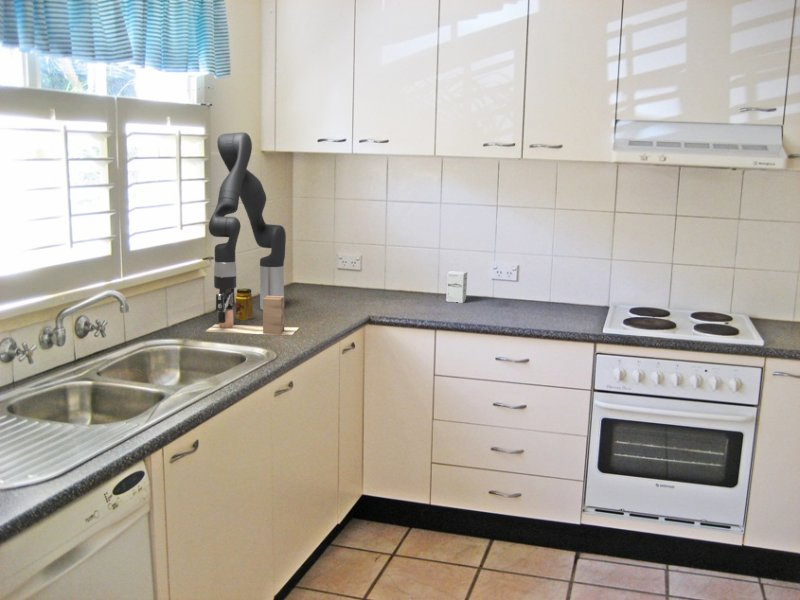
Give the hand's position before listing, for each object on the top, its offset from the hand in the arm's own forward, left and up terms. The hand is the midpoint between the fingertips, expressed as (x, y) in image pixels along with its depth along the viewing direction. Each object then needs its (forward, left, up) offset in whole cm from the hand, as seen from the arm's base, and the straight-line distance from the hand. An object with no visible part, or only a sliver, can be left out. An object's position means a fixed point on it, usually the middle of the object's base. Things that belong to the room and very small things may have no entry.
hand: (225, 320), depth 294 cm
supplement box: (-71, +79, -4) cm, 107 cm away
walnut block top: (+5, +18, +4) cm, 19 cm away
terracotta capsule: (0, 0, -2) cm, 2 cm away
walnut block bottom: (+5, +18, -2) cm, 19 cm away
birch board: (+2, +10, -3) cm, 11 cm away
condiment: (-15, +3, -4) cm, 16 cm away
